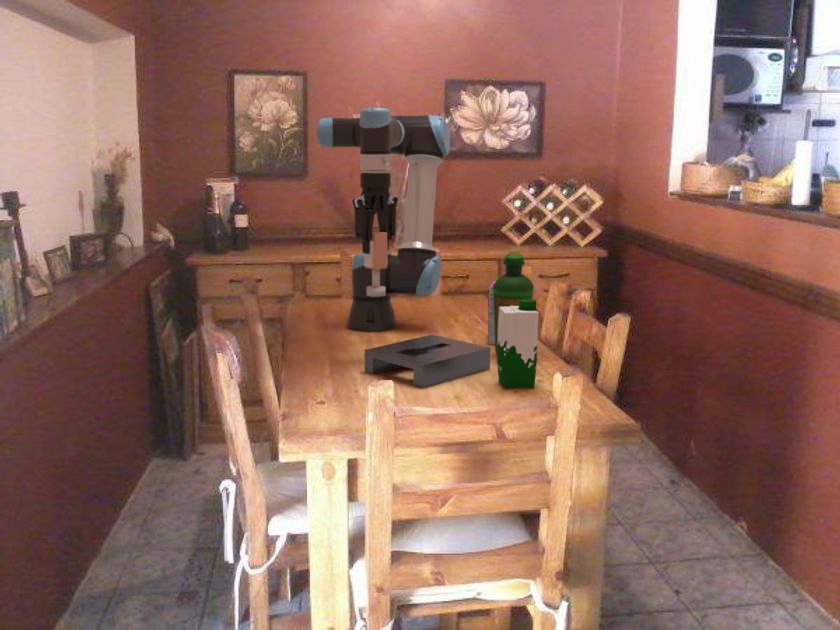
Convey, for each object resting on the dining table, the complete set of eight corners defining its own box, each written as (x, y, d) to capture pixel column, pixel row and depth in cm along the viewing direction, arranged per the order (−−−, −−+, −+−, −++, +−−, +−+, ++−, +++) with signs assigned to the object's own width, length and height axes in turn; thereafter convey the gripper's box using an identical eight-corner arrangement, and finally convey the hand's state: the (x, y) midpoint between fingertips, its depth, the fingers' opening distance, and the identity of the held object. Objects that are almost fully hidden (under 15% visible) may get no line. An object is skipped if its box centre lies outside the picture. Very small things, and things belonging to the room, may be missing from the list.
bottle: (505, 361, 217) (508, 253, 211) (484, 352, 226) (486, 249, 221) (539, 357, 222) (543, 251, 216) (517, 348, 231) (519, 247, 225)
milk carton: (539, 389, 193) (542, 303, 189) (500, 390, 192) (502, 304, 188) (531, 378, 202) (533, 296, 198) (493, 379, 201) (495, 297, 197)
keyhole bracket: (364, 371, 207) (364, 349, 206) (432, 354, 224) (432, 334, 223) (422, 388, 193) (422, 365, 192) (489, 368, 210) (490, 347, 209)
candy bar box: (491, 335, 246) (492, 280, 242) (508, 336, 245) (509, 281, 242) (486, 344, 235) (487, 287, 232) (504, 345, 234) (505, 287, 231)
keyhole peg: (362, 295, 215) (362, 232, 212) (376, 292, 218) (376, 231, 215) (375, 297, 211) (375, 233, 208) (389, 295, 215) (389, 232, 212)
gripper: (359, 173, 200) (360, 270, 205) (410, 171, 212) (410, 263, 217) (339, 172, 205) (340, 267, 210) (390, 171, 217) (390, 260, 222)
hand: (375, 265), depth 213 cm, fingers closed on keyhole peg, 4 cm apart
